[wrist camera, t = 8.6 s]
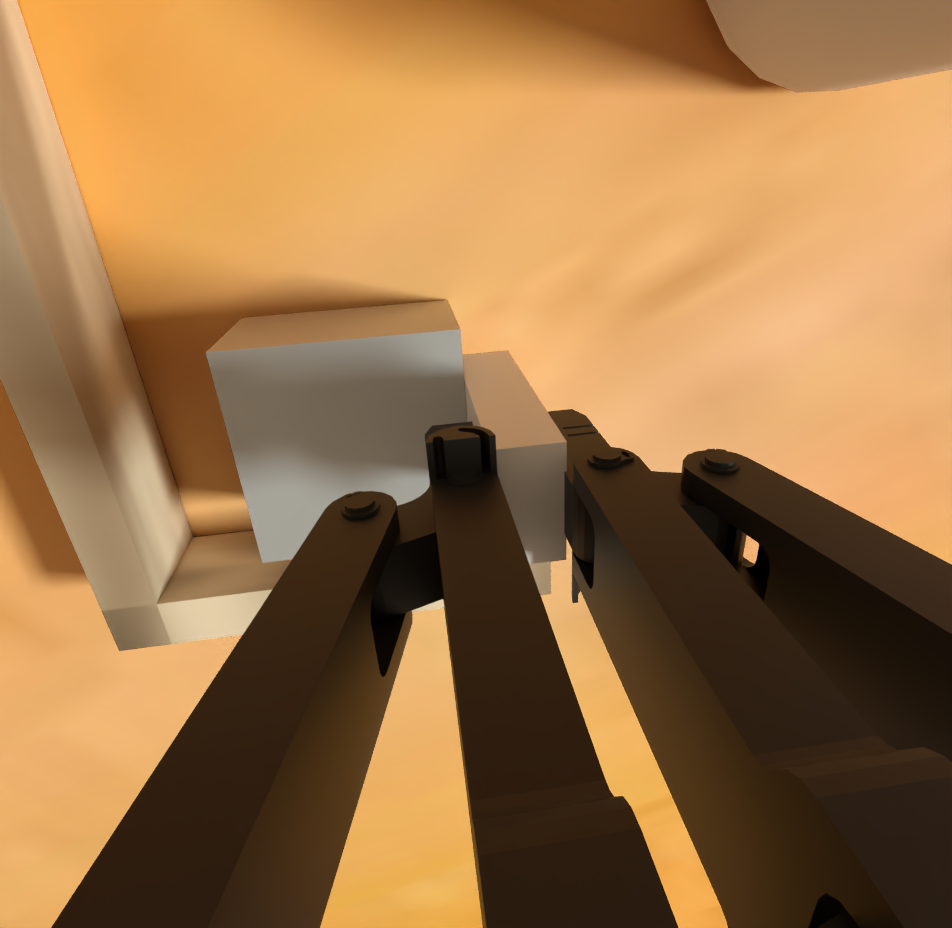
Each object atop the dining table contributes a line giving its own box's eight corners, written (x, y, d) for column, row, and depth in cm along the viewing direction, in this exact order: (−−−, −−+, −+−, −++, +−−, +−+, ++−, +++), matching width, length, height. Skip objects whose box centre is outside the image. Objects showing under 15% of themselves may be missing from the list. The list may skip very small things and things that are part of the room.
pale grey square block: (285, 494, 20) (262, 563, 17) (243, 315, 17) (205, 352, 14) (461, 474, 21) (475, 537, 17) (446, 298, 18) (460, 329, 14)
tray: (160, 578, 21) (119, 651, 18) (-250, -526, 10) (-533, -834, 7) (528, 533, 22) (551, 593, 19) (498, -508, 11) (537, -767, 8)
